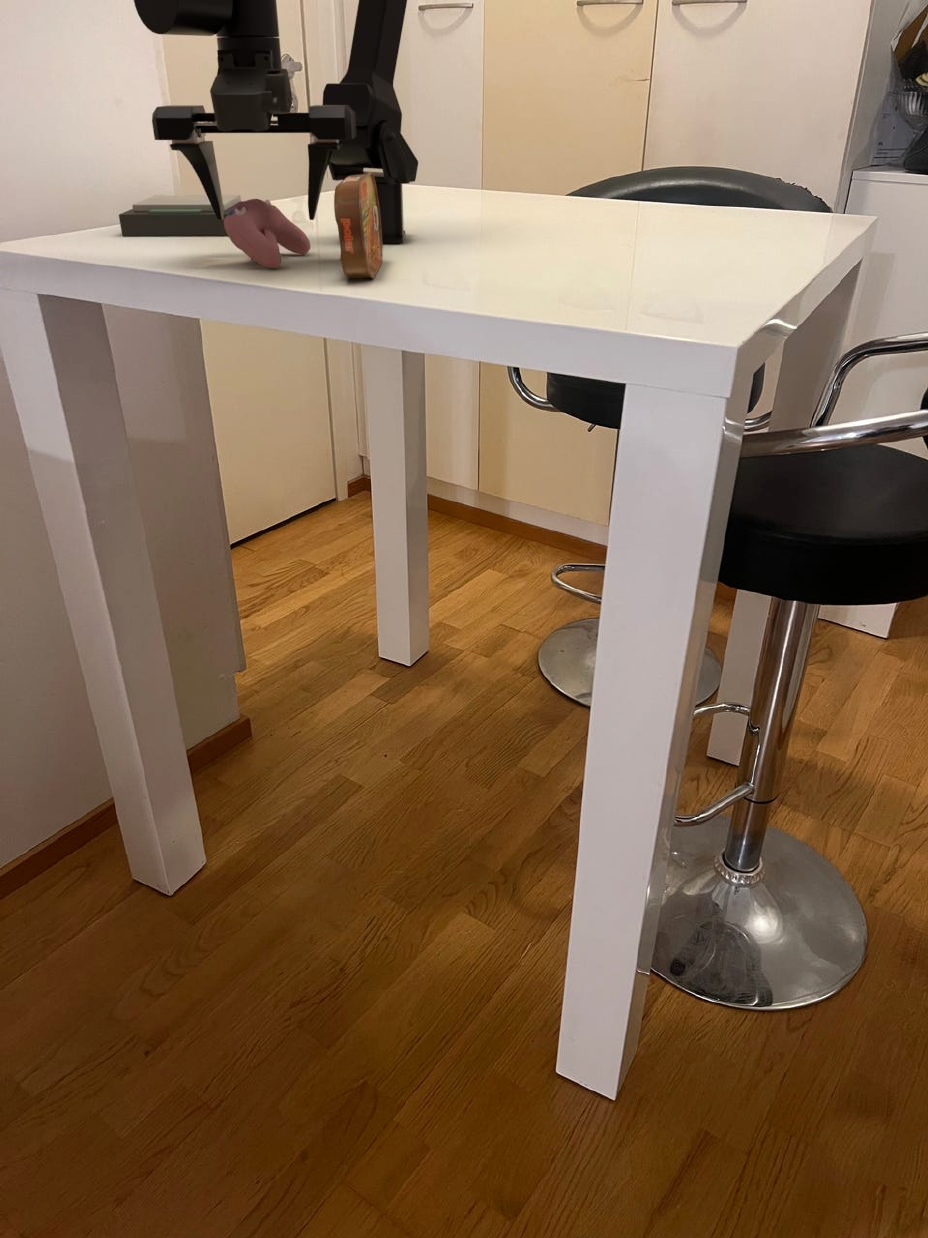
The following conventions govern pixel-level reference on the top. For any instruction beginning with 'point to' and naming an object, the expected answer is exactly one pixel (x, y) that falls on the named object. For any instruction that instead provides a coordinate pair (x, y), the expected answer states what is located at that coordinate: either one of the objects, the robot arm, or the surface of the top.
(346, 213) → the tin
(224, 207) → the scale
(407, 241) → the top surface
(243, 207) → the video game controller
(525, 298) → the top surface
